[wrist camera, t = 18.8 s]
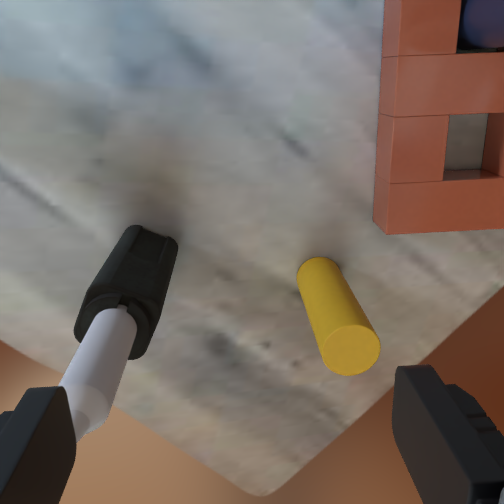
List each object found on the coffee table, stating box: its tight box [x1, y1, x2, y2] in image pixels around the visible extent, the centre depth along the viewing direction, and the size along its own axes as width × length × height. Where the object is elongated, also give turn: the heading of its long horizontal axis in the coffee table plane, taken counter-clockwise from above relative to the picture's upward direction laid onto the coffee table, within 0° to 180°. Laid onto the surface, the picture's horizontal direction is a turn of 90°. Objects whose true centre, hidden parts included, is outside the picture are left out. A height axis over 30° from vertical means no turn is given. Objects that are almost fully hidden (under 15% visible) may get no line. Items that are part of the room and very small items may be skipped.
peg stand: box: [373, 0, 504, 235], centre depth 38 cm, size 24×14×4 cm, turn 2°
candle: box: [58, 225, 178, 443], centre depth 33 cm, size 5×5×25 cm
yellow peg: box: [297, 257, 381, 376], centre depth 40 cm, size 4×4×13 cm
